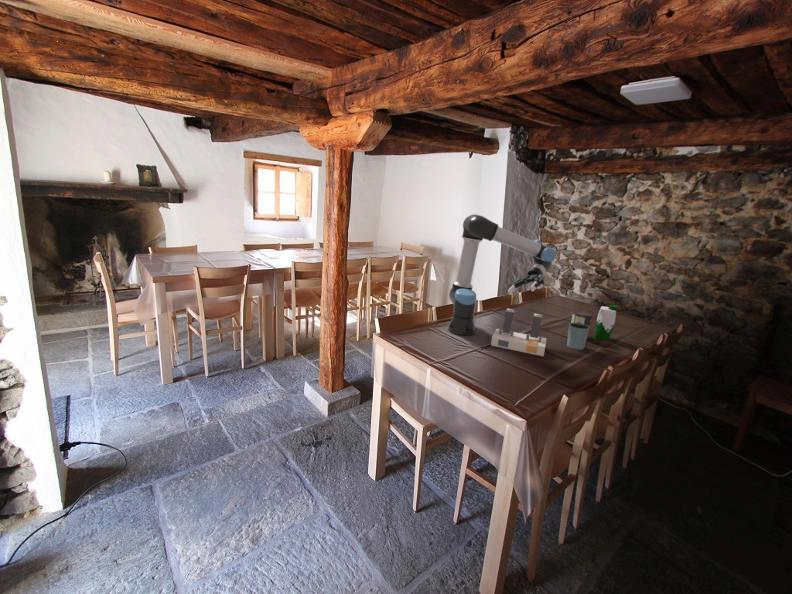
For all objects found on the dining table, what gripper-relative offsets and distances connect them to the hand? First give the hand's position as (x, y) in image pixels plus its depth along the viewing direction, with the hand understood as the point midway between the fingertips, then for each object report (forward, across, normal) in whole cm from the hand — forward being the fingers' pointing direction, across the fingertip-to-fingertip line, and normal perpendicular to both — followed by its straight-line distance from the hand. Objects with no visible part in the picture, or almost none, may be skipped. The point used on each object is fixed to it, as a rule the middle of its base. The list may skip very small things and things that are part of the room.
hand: (520, 291), depth 205 cm
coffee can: (-25, -8, -45) cm, 52 cm away
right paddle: (+12, -5, -21) cm, 25 cm away
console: (+17, +2, -24) cm, 29 cm away
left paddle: (+16, +6, -15) cm, 23 cm away
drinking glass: (-6, -14, -40) cm, 43 cm away
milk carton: (-33, -17, -52) cm, 64 cm away
